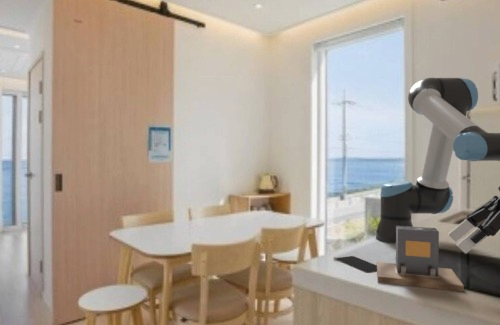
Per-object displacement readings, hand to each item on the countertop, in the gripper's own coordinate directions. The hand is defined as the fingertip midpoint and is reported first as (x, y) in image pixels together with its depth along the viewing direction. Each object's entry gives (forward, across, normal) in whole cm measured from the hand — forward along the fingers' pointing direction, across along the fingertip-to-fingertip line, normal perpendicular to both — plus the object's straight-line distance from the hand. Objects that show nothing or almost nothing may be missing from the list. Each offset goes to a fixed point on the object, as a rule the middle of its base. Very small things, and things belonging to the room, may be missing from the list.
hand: (455, 243), depth 95 cm
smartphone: (+25, +6, +11) cm, 28 cm away
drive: (+13, -1, +1) cm, 13 cm away
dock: (+14, -1, 0) cm, 14 cm away
